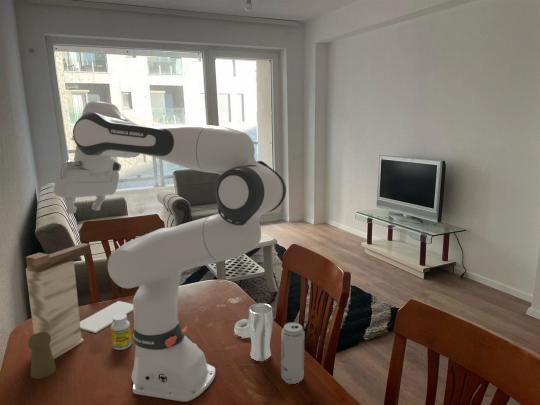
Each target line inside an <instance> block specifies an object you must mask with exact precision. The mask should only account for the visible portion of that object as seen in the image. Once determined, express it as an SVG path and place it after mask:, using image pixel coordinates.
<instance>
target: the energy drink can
mask: <svg viewBox="0 0 540 405" xmlns="http://www.w3.org/2000/svg"><path fill="white" fill-rule="evenodd" d="M305 334H306V332H305V331H304V329H303V325H301V324H300V323H298V322H295V321H293V322H292V321H291V322H287V323H285V324H284V325H283V329H282V330H281V337H280V338H281V339H280V340H281V341H280V343H281V344H280V345H281V346H280V349H281V350H280V377H281V379H282V380H284V381H285V382H286V384H287V383H288V384H287V385H290V384H296V383H298V384H300V383H301V382H302V380H303V379H304V374H305V372H304V371H305V340H306V338H305ZM284 381H283V382H284ZM300 381H301V382H300ZM285 382H284V383H285ZM299 382H300V383H299ZM296 385H297V384H296Z"/></svg>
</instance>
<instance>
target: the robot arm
mask: <svg viewBox="0 0 540 405" xmlns="http://www.w3.org/2000/svg"><path fill="white" fill-rule="evenodd" d="M72 137H73V140H74V143H75V146H76V147H75V150H74V158H73V160H72V161H71V160H66V161H65V162H64V163H62V164H61V166H60V169H59V171H58V172H57V176H56V179H55V182H54V187H53V193H54V195H55V196H57V197H60V198H63V199H64V202H65V205H66V209H65V210H66V214H69V215H71V214H76V213H77V206H75V203H74V202H75V201H76V199H77V198H85V197H86V198H87V197H96V198H95V200H94V202H93V203H92V204H91V210H93V211H101V207H102V206H101V205H102V204H103V203H104V202H105V201H104V200H106V196H113V195H115V193H116V192H117V190H118V185H119V178H120V171H121V170H122V164H121V163H119V162H118V161H116V160H114V159H113V158H112V157H114V158H123V159H124V158H125V159H129V158H130V159H131V158H137V157H139V155H146V156H149V157H151V158H152V157H153V158H156V159H159V160H163V161H166V162H168V163H170V164H174V165H177V166H180V167H183V168H186V169H189V170H192V171H193V170H194V171H199V172H203V173H212V174H218V175H220V176H219V177H218V179H217V181H216V185H215V190H214V191H215V200H216V204H217V212H218V213H215V214H213V215H209V216H206V217H202V218H199V219H196V220H192V221H188V222H185V223H181V224H178V225H176V226H169V227H161V228H158V229H156V230H153V231H150V232H149V233H146V234H144V235H141V236H139V237H136V238H134V239H132V240H129V241H126V242H125V243H123V244H122V245H121V246H119V247H118V248H117V249H115V251H113V252H112V253H111V254H110V255H109V256H108V261H107V272H108V274H109V277H110V278H111V280H112V281H113V282H114V283H115V284H116V285H117V286H118V287H121V288H123V289H132V288H137V287H138V289H137V290H136V292H135V294H134V297H133V300H132V304H133V310H134V311H133V321H134V322H133V324H134V326H133V327H132V337H133V342H134V345H135V346H134V347H135V349H134V362H133V369H132V373H131V381H132V383H133V386H132V393H133V394H135V395H140V396H146V397H153V398H160V399H165V400H170V401H171V400H172V401H178V402H189V401H192V400H194V399H196V398H198V397H199V396H200V395H201V394H202V393H204V391H206V390H207V388H209V387H210V385H211V384H212V383H213V381H214V379H215V377H216V372H217V371H216V368H215V366H213V365H211V364H209V363H207V359H206V358H207V357H206V356H205V353H204V352H203V350H201V349H200V348H199V347H198V344H197V343H193V342H192V341H191V339H189V338H188V337H187V336H186V335H185V332H187V331H188V329H187V327H188V326H187V325H186V326H184V328H183V327H182V325H181V322H180V320H179V317H178V316H179V314H178V313H179V312H178V311H179V310H178V295H179V294H178V292H179V286H180V282H181V277H182V273H183V272H186V271H189V270H192V269H195V268H199V267H203V266H207V265H212V264H216V263H220V262H223V261H228V260H231V259H235V258H237V257H239V256H242V255H244V254H247V253H249V252H250V251H253V250H255V249H256V248H257V247H258V246H259V244H260V241H261V239H262V229H261V225H260V220H261V217H262V216H263V214H266V213H270V212H272V211H274V210H276V209H277V208H279V207H280V206H281V205H282V203H283V202H284V200H285V198H286V195H287V185H286V182H285V180H284V178H283V177H282V176H281V175H280V174H279V173H278V172H277V171H276V170H275V169H273V168H272V167H270V166H269V165H268V164H267V163H266V162H264V161H262V160H257V161H256V158H255V144H254V141H253V139H252V138H251V136H249V134H247V133H246V132H243V131H241V130H237V129H234V128H231V127H226V126H220V125H214V124H213V125H212V124H182V125H181V124H180V125H178V124H177V125H165V126H164V125H163V126H159V125H158V126H157V125H156V126H146V125H145V126H144V125H139V124H137V123H135V122H133V121H132V120H130V119H128V118H127V117H126V116H125V115H124V114H122V113H121V111H119V108H118V106H116V105H115V104H113V103H109V102H105V101H99V100H98V101H97V100H96V101H95V100H94V101H90V102H87V103H86V104H85V106H84V108H83V111H82V113H81V116H80V117H79V118H78V119H77V121H76V122H75V124H74V125H73V129H72Z"/></svg>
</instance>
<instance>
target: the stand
mask: <svg viewBox="0 0 540 405" xmlns="http://www.w3.org/2000/svg"><path fill="white" fill-rule="evenodd" d="M25 275H26V282H27V290H28V298H29V306H30V313H31V322H32V331H33V335H34V334H36V333H39V332H47V333H48V334H49V335H50V336H51V342H50V344H49V345H50V349H51V352H52V356H53V359H54V360H55V359H57V358H58V357H60V356H62V355H63V354H65V353H67V352H68V351H70V350H72V349H73V348H75V347H76V346H78V345H80V344H81V343H83V342H84V338H82V331H81V330H82V329H81V328H80V321H81V320H80V319H81V318H80V309H79V299H78V291H77V279H76V271H75V262H74V260H69V261H66V262H63V263H60V264H58V265H55V266H52V267H50V268H49V269H46V270H43V271H41V272H38V273H36V272H32V271H28V270H27V268H25Z"/></svg>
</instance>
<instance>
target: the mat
mask: <svg viewBox="0 0 540 405" xmlns="http://www.w3.org/2000/svg"><path fill="white" fill-rule="evenodd" d="M132 312H134V310H133V303H129V302H126V301H121V300H118V301H116V302H114V303H111V304H110V305H108V306H107V307H106V306H105V308H103V309H101V310H99V311H97V312H95V313H94V314H92V315H90V316H87V317H86V318H85V319H82V320H80V328H81V330H83V331H86V332H90V333H94V334H98V333H99V332H100V331H102V330H103V329H105V328H107V327H109V326H110V325H112V324H113V317H114V316H115V315H117V314H126V315H127V316H128V315H129V314H131V313H132Z"/></svg>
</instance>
